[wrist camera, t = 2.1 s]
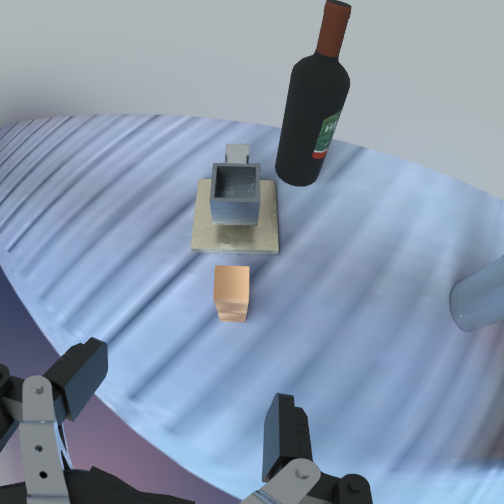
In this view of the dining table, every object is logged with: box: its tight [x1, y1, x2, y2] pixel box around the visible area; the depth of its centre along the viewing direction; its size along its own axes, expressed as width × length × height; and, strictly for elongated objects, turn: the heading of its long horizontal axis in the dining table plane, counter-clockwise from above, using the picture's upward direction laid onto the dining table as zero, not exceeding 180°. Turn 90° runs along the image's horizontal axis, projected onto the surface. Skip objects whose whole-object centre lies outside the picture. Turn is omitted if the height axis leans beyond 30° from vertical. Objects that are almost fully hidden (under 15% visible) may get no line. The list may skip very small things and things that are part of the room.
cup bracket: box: [191, 144, 279, 255], centre depth 38 cm, size 12×12×10 cm
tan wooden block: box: [214, 266, 249, 322], centre depth 32 cm, size 3×3×12 cm
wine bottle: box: [275, 0, 351, 186], centre depth 34 cm, size 8×8×30 cm
